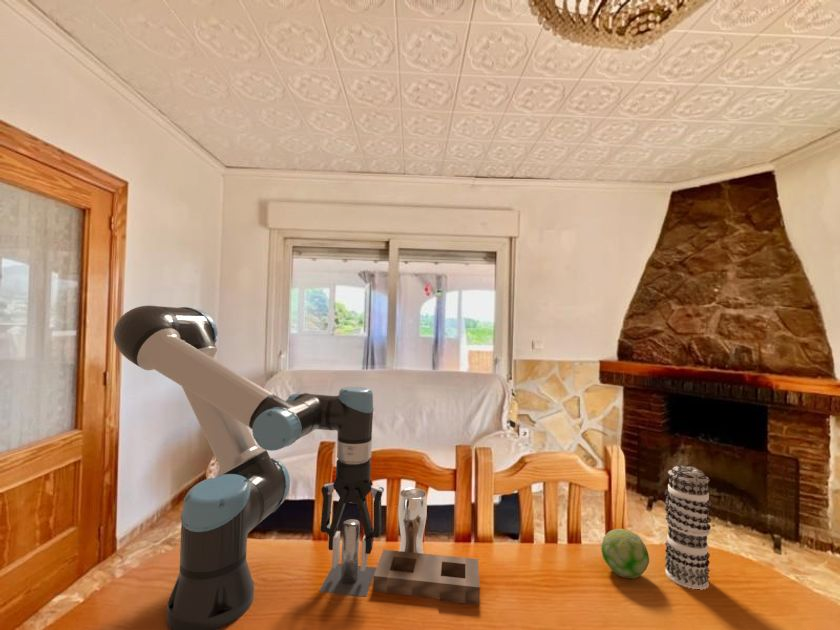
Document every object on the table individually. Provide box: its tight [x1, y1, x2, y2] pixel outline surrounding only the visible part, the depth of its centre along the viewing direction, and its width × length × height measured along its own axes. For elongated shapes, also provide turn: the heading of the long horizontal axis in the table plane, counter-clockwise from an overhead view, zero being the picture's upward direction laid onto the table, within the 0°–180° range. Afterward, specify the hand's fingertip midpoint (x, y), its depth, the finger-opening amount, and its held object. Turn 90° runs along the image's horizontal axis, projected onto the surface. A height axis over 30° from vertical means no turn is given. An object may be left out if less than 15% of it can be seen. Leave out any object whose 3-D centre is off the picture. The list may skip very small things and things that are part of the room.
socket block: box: [372, 549, 481, 606], centre depth 88 cm, size 22×10×4 cm, turn 84°
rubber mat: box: [318, 563, 377, 598], centre depth 88 cm, size 10×10×1 cm
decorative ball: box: [600, 528, 650, 579], centre depth 94 cm, size 10×10×10 cm
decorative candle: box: [664, 465, 713, 591], centre depth 93 cm, size 9×9×25 cm
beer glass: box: [398, 487, 428, 554], centre depth 98 cm, size 7×7×15 cm
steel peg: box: [340, 518, 361, 584], centre depth 88 cm, size 4×4×12 cm
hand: (349, 565), depth 88 cm, fingers open, 6 cm apart
